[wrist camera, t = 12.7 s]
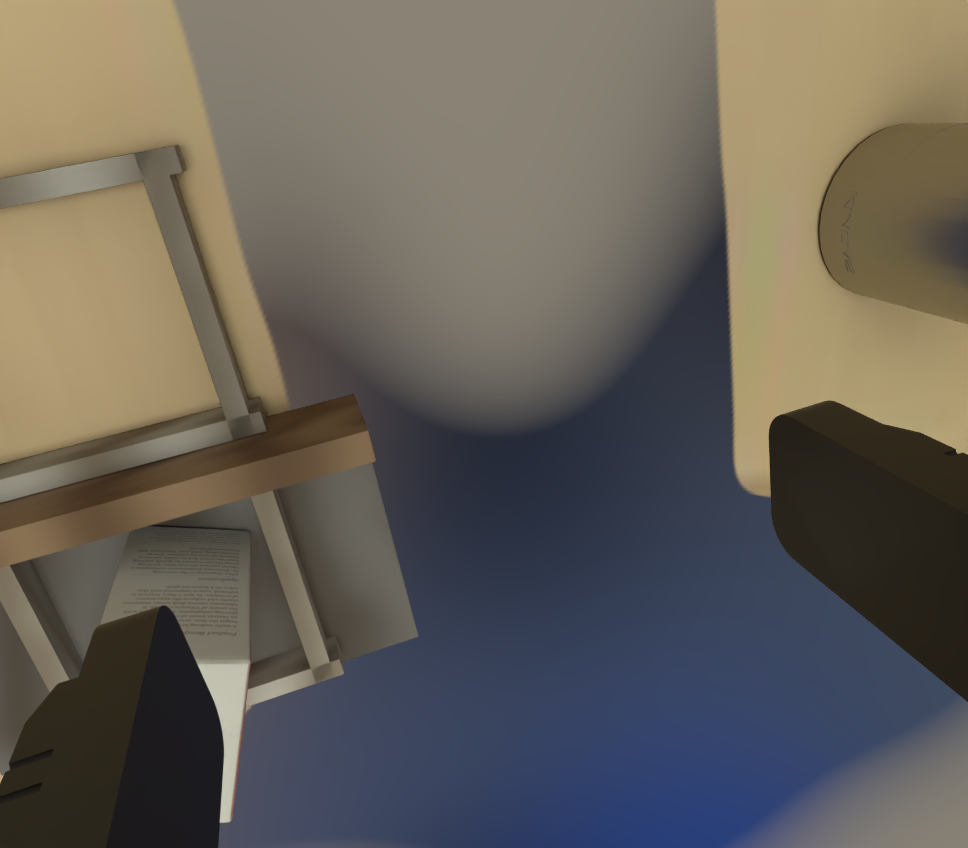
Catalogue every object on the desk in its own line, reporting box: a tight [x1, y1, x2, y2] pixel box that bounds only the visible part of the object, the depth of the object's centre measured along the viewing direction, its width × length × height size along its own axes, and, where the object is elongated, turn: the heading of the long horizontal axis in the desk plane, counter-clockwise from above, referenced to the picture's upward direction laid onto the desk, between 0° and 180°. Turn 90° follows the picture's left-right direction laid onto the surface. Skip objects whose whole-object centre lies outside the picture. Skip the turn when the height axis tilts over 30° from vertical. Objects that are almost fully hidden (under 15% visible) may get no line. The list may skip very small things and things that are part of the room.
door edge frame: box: [0, 145, 418, 775], centre depth 33 cm, size 22×27×5 cm
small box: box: [100, 526, 251, 823], centre depth 33 cm, size 8×6×10 cm
